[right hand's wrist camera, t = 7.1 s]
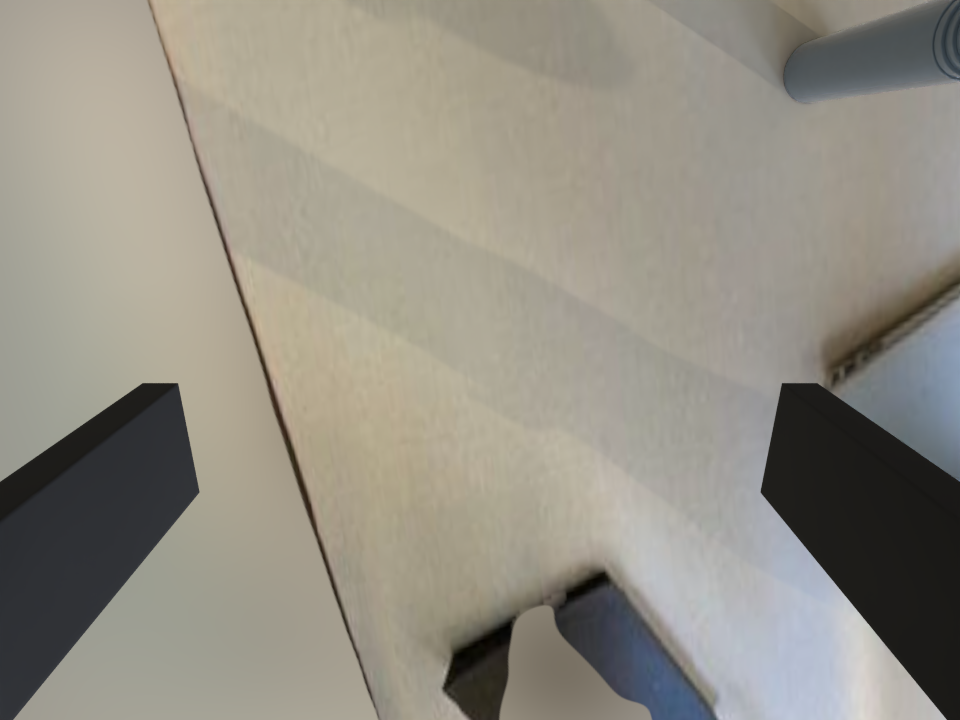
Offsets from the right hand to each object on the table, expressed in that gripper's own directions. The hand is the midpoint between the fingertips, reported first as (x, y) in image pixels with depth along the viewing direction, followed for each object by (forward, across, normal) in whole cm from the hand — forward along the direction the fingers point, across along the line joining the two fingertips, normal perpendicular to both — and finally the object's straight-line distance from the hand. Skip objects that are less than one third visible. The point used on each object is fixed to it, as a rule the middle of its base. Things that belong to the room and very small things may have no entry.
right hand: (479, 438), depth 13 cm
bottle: (+41, +27, +12) cm, 50 cm away
